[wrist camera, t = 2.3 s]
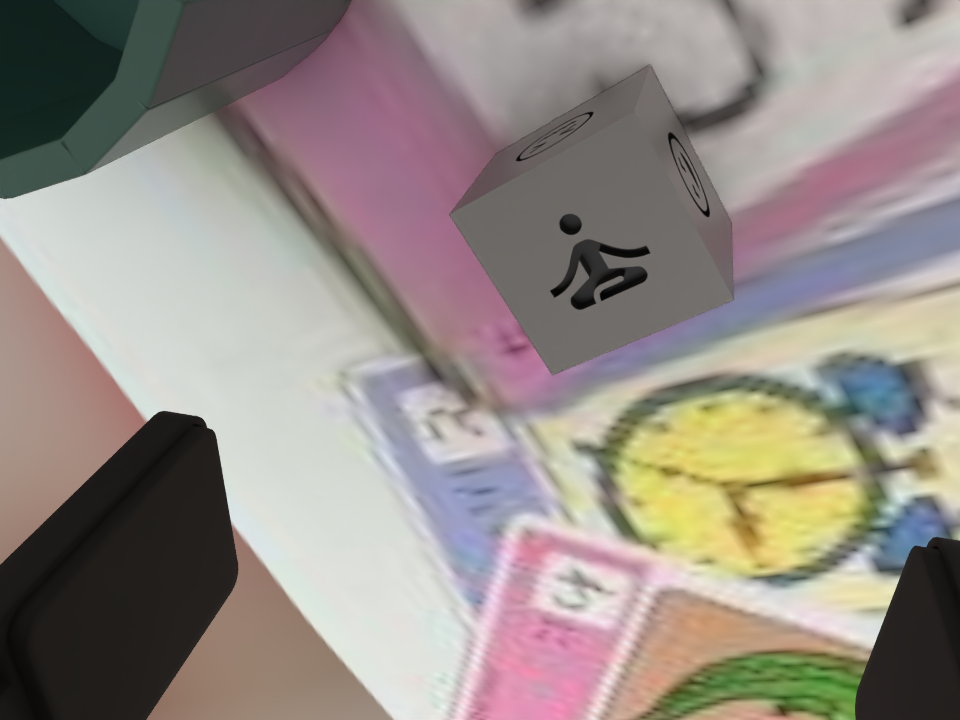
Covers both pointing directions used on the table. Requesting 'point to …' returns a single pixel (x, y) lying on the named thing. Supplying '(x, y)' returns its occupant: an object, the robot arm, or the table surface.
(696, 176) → the dice cube
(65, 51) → the tin
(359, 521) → the table surface
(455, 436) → the table surface
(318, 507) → the table surface
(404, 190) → the table surface
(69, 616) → the robot arm
